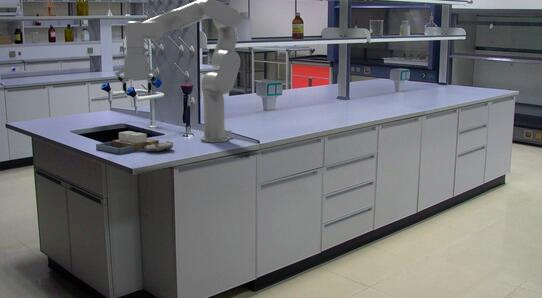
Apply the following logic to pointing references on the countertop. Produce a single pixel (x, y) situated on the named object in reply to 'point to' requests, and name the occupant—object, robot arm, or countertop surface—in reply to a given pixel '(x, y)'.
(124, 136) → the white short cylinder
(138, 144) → the board
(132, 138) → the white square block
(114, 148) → the box
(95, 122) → the countertop surface
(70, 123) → the countertop surface
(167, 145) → the stone
